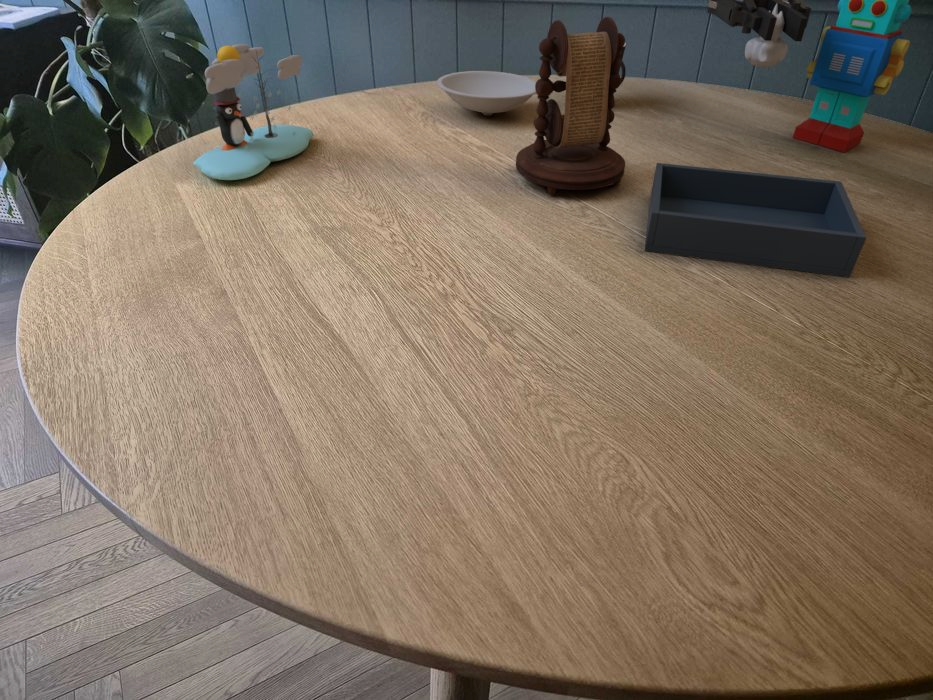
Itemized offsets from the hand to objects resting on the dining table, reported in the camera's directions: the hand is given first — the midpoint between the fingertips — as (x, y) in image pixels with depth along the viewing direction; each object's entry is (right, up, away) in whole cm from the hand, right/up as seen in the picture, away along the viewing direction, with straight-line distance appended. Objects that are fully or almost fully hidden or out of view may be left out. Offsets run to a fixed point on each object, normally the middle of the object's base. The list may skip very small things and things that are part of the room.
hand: (786, 29), depth 85 cm
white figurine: (0, -2, +8) cm, 8 cm away
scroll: (-27, -17, +7) cm, 33 cm away
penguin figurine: (-71, -13, +11) cm, 73 cm away
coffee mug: (-19, +2, +31) cm, 36 cm away
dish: (-38, -1, +28) cm, 47 cm away
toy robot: (+15, -9, +18) cm, 25 cm away
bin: (-9, -27, -6) cm, 29 cm away
